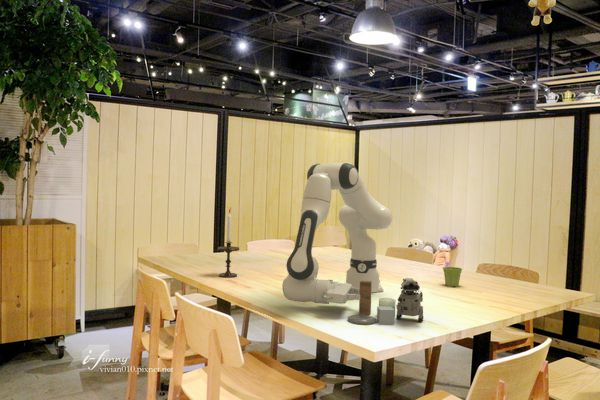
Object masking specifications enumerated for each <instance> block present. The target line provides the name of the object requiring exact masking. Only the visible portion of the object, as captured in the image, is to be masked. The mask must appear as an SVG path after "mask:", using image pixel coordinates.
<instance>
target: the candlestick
mask: <svg viewBox="0 0 600 400" xmlns="http://www.w3.org/2000/svg"><path fill="white" fill-rule="evenodd" d="M231 210H232V208H231V207H229V210H228V214H227V219H226V220H227V224H226V228H227V229H226V242H224V243H226V246H218V247H217V251H221V252H225V253H226V260H225V264H226V265H225V267H226V271H225V272H221V273H218V277H220V278H227V279H229V278H236V277H238V274H237V273H234V272H232V271H230V270H231V269H230V268H231V263H232V260H231V258H230V257H231V253H232V252H237V251H240V247H238V246H232V245H231V244H233V242H232V240H231V239H232V237H231V236H232V215H231Z"/></svg>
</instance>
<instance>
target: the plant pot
mask: <svg viewBox="0 0 600 400" xmlns="http://www.w3.org/2000/svg"><path fill="white" fill-rule="evenodd" d="M462 270H463V268H462V267H459V266H458V267H457V266H444V267H442V271H443V273H444V283H445V286H446V287H450V288H453V287H456V288H457V287H459V285H460V279H461V273H462Z"/></svg>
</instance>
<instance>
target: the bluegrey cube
mask: <svg viewBox="0 0 600 400" xmlns="http://www.w3.org/2000/svg"><path fill="white" fill-rule="evenodd" d="M376 307H377V308H376V319H377V322H378V324H379V325H395V317H394V314H395V315H396V309H395V310H394V309H393V308H392V307H382V306H379V305H378V306H376Z"/></svg>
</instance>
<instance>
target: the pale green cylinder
mask: <svg viewBox="0 0 600 400" xmlns="http://www.w3.org/2000/svg"><path fill="white" fill-rule="evenodd" d="M378 306H382V307H392V308H393V309H394V310H395V311H396V299H394V298H391V297H380V298H379V299H378ZM394 318H396V313H395V314H394Z"/></svg>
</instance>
